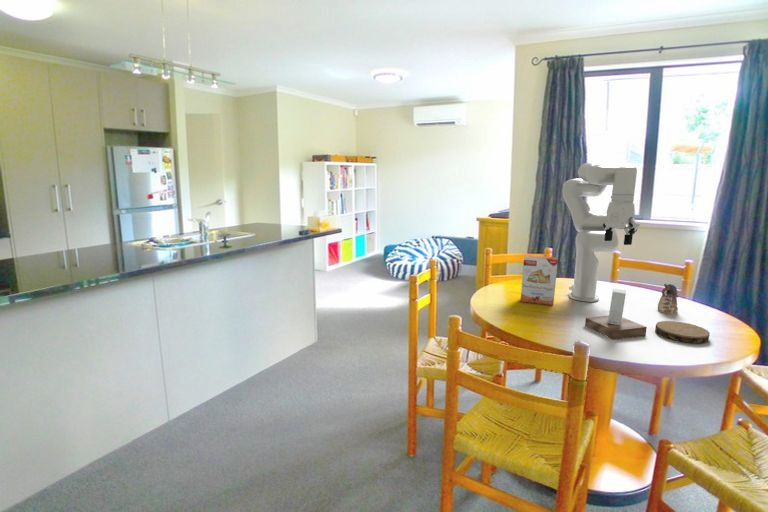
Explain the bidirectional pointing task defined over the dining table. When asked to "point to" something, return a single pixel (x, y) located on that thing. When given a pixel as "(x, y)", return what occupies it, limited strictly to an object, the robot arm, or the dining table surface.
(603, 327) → the walnut base
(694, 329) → the wood slice coaster
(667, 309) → the figurine
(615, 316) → the skincare box
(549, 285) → the cracker box
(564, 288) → the dining table surface
